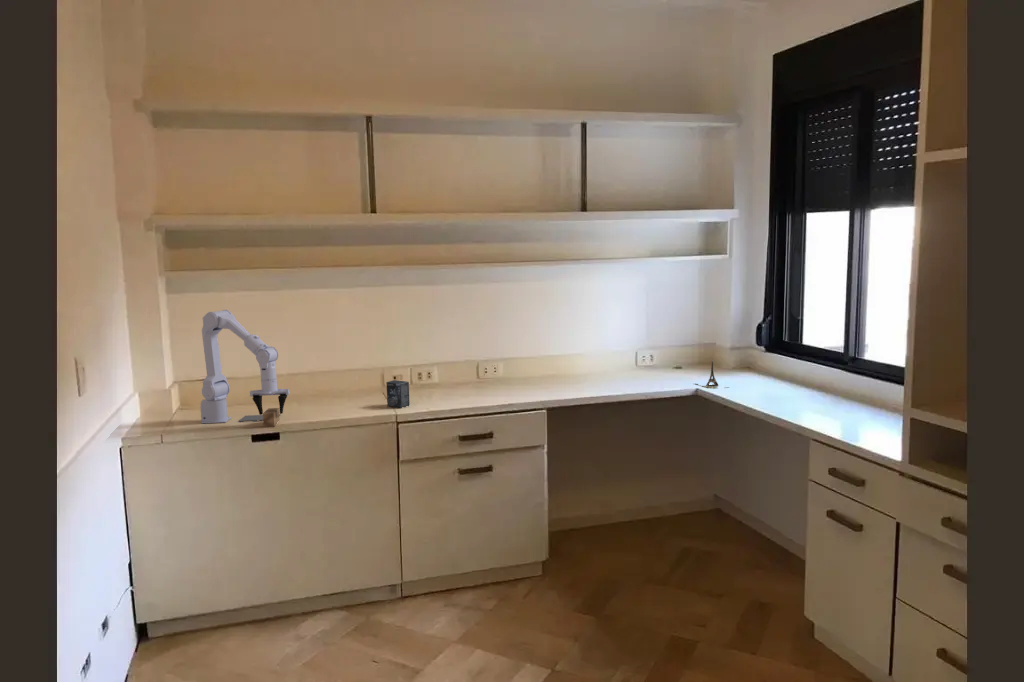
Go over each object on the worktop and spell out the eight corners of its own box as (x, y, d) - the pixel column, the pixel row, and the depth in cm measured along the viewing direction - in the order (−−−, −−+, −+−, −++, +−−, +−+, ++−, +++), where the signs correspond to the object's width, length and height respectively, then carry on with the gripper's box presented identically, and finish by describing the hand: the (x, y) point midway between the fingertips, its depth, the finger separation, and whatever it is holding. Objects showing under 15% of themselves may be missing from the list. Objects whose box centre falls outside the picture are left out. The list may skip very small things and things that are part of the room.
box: (387, 406, 321) (385, 382, 319) (396, 404, 325) (395, 379, 324) (401, 408, 316) (399, 383, 315) (410, 406, 321) (409, 381, 320)
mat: (239, 422, 299) (239, 420, 299) (245, 416, 308) (245, 415, 308) (275, 420, 300) (275, 419, 300) (280, 415, 309) (280, 414, 309)
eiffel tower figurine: (692, 385, 354) (692, 356, 353) (710, 383, 358) (710, 355, 356) (711, 390, 340) (711, 361, 339) (730, 388, 344) (730, 359, 342)
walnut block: (263, 427, 290) (262, 413, 289) (269, 422, 298) (268, 408, 298) (274, 427, 290) (273, 413, 289) (279, 421, 299) (278, 407, 298)
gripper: (246, 381, 287) (249, 416, 289) (285, 380, 288) (288, 415, 290) (251, 378, 294) (254, 412, 296) (289, 376, 295) (292, 411, 297)
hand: (271, 413), depth 294 cm, fingers open, 7 cm apart
